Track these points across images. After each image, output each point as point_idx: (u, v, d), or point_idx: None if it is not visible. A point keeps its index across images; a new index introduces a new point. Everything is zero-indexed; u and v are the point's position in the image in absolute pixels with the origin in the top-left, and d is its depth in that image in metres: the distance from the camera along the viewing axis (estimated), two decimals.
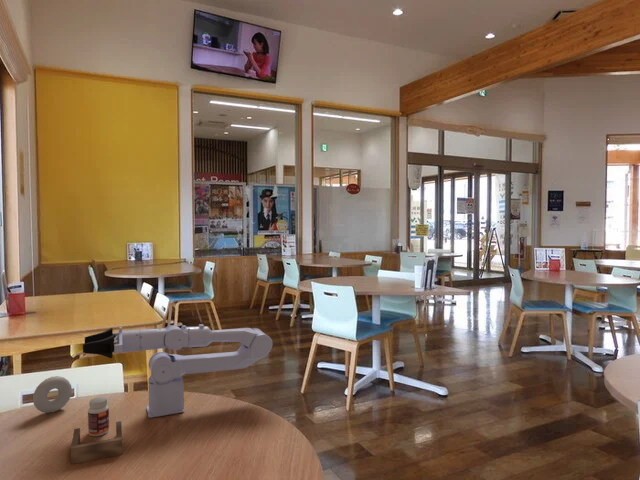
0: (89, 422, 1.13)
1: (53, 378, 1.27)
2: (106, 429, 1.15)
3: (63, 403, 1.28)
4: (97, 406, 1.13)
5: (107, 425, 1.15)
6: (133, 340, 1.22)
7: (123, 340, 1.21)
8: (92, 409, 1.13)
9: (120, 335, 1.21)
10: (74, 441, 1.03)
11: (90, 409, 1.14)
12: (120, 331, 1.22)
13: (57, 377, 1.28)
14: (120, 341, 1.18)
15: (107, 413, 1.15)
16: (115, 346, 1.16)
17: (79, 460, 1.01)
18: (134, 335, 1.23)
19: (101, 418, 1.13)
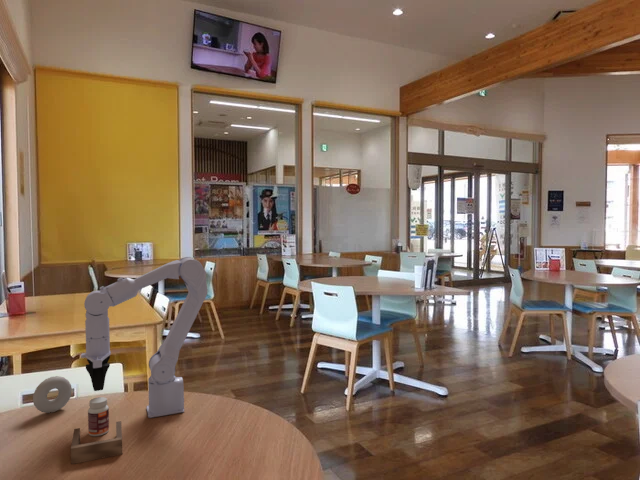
0: (89, 422, 1.13)
1: (53, 378, 1.27)
2: (106, 429, 1.15)
3: (63, 403, 1.28)
4: (97, 406, 1.13)
5: (107, 425, 1.15)
6: (94, 344, 1.18)
7: (93, 354, 1.18)
8: (92, 409, 1.13)
9: (87, 357, 1.18)
10: (74, 441, 1.03)
11: (90, 409, 1.14)
12: (84, 356, 1.19)
13: (57, 377, 1.28)
14: (91, 360, 1.16)
15: (107, 413, 1.15)
16: (94, 367, 1.14)
17: (79, 460, 1.01)
18: (89, 344, 1.18)
19: (101, 418, 1.13)
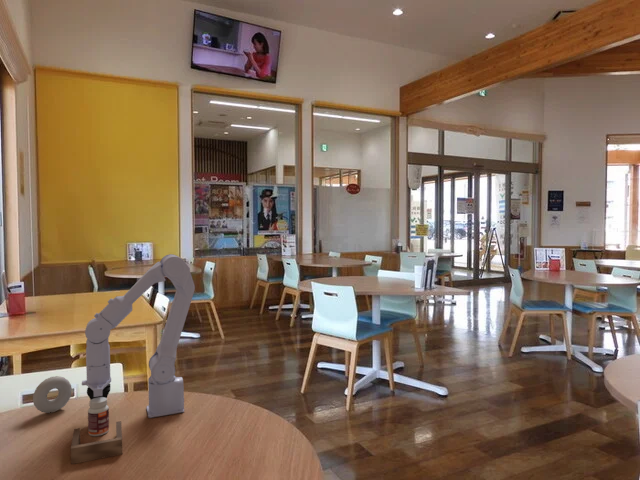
0: (89, 422, 1.13)
1: (53, 378, 1.27)
2: (106, 429, 1.15)
3: (63, 403, 1.28)
4: (97, 406, 1.13)
5: (107, 425, 1.15)
6: (95, 372, 1.18)
7: (94, 382, 1.18)
8: (92, 409, 1.13)
9: (88, 385, 1.18)
10: (74, 441, 1.03)
11: (90, 409, 1.14)
12: (85, 384, 1.19)
13: (57, 377, 1.28)
14: (92, 388, 1.16)
15: (107, 413, 1.15)
16: (94, 395, 1.15)
17: (79, 460, 1.01)
18: (90, 371, 1.18)
19: (101, 418, 1.13)
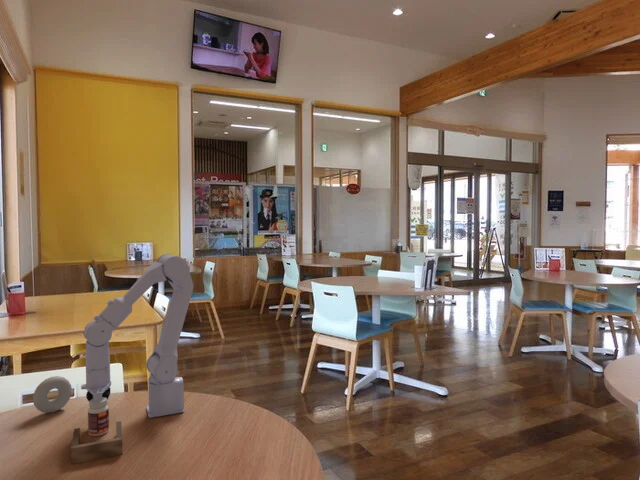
0: (89, 422, 1.13)
1: (53, 378, 1.27)
2: (106, 429, 1.15)
3: (63, 403, 1.28)
4: (97, 406, 1.13)
5: (107, 425, 1.15)
6: (95, 376, 1.16)
7: (93, 386, 1.16)
8: (92, 409, 1.13)
9: (87, 389, 1.16)
10: (74, 441, 1.03)
11: (90, 409, 1.14)
12: (85, 388, 1.17)
13: (57, 377, 1.28)
14: (91, 392, 1.14)
15: (107, 413, 1.15)
16: (94, 400, 1.12)
17: (79, 460, 1.01)
18: (89, 375, 1.16)
19: (100, 418, 1.13)
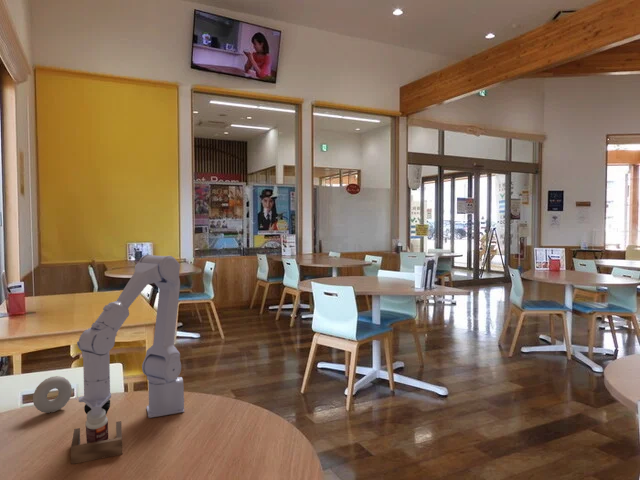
0: (87, 435, 1.06)
1: (53, 378, 1.27)
2: None
3: (63, 403, 1.28)
4: (94, 422, 1.05)
5: (106, 437, 1.08)
6: (93, 388, 1.08)
7: (92, 399, 1.08)
8: (90, 424, 1.05)
9: (86, 402, 1.07)
10: (74, 441, 1.03)
11: (87, 423, 1.06)
12: (82, 401, 1.08)
13: (57, 377, 1.28)
14: (90, 406, 1.05)
15: (106, 427, 1.07)
16: (92, 414, 1.04)
17: (79, 460, 1.01)
18: (87, 387, 1.08)
19: (99, 433, 1.06)
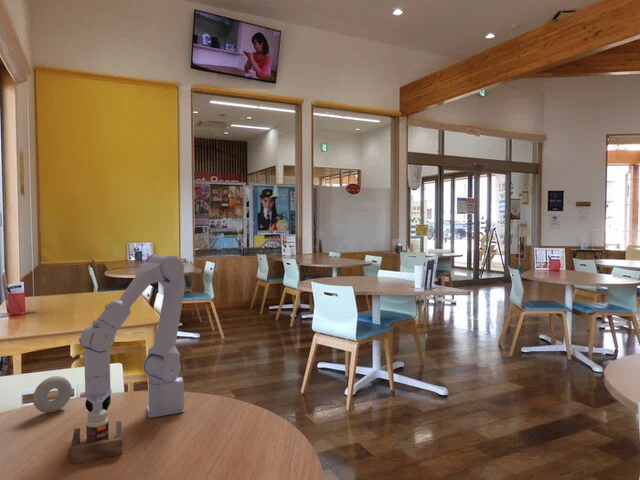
0: (87, 436, 1.06)
1: (53, 378, 1.27)
2: None
3: (63, 403, 1.28)
4: (95, 419, 1.06)
5: (106, 439, 1.08)
6: (94, 384, 1.11)
7: (93, 394, 1.11)
8: (90, 422, 1.06)
9: (87, 398, 1.10)
10: (74, 441, 1.03)
11: (88, 422, 1.06)
12: (84, 396, 1.11)
13: (57, 377, 1.28)
14: (91, 401, 1.08)
15: (107, 427, 1.08)
16: (94, 409, 1.07)
17: (79, 460, 1.01)
18: (88, 383, 1.11)
19: (99, 432, 1.06)
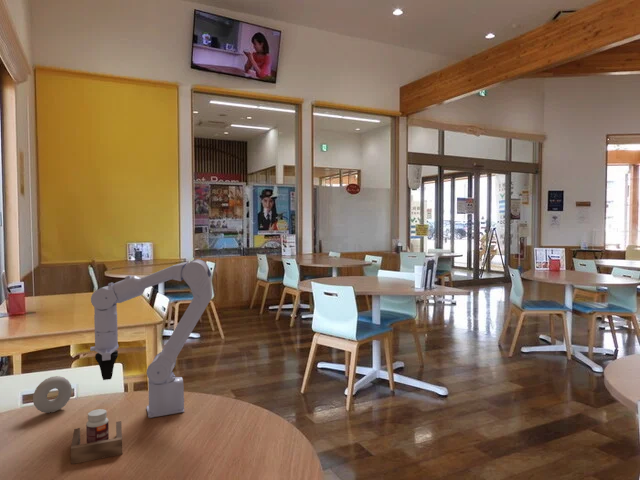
0: (87, 436, 1.06)
1: (53, 378, 1.27)
2: None
3: (63, 403, 1.28)
4: (95, 419, 1.06)
5: (106, 439, 1.08)
6: (103, 338, 1.23)
7: (102, 347, 1.23)
8: (90, 422, 1.06)
9: (96, 351, 1.22)
10: (74, 441, 1.03)
11: (88, 422, 1.06)
12: (94, 349, 1.23)
13: (57, 377, 1.28)
14: (100, 353, 1.20)
15: (107, 427, 1.08)
16: (103, 359, 1.19)
17: (79, 460, 1.01)
18: (98, 337, 1.23)
19: (99, 431, 1.06)
